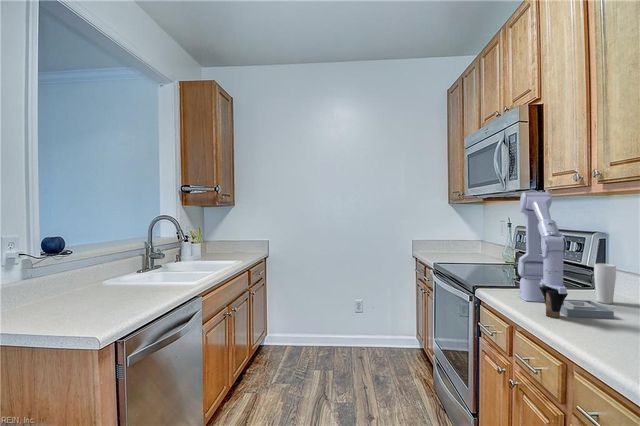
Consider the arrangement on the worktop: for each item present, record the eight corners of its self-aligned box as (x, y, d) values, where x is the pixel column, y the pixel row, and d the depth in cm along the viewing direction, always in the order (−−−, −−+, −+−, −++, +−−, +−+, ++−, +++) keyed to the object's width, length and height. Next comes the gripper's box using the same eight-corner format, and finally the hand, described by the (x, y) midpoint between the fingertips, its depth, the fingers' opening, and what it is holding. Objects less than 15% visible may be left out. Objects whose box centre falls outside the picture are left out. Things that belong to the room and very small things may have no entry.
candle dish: (549, 305, 135) (549, 298, 135) (590, 307, 132) (590, 299, 132) (567, 316, 121) (567, 308, 121) (613, 318, 119) (613, 310, 119)
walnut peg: (543, 314, 124) (544, 292, 124) (556, 315, 123) (556, 292, 123) (549, 318, 120) (549, 294, 120) (562, 318, 119) (562, 295, 119)
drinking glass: (589, 301, 140) (590, 264, 140) (600, 299, 143) (601, 263, 143) (608, 305, 134) (609, 266, 134) (619, 303, 137) (620, 265, 136)
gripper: (532, 266, 129) (531, 303, 129) (549, 274, 115) (549, 315, 115) (553, 267, 128) (553, 304, 128) (573, 274, 113) (573, 316, 114)
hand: (552, 309), depth 121 cm, fingers closed on walnut peg, 4 cm apart
